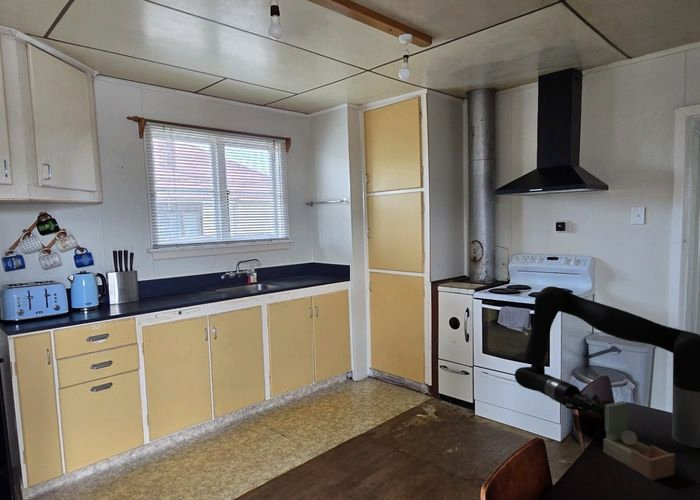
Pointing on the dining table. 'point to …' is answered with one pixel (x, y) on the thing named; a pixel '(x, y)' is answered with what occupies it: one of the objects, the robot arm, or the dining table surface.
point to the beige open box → (624, 450)
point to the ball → (629, 437)
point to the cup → (654, 463)
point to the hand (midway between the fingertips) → (604, 412)
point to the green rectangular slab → (616, 420)
